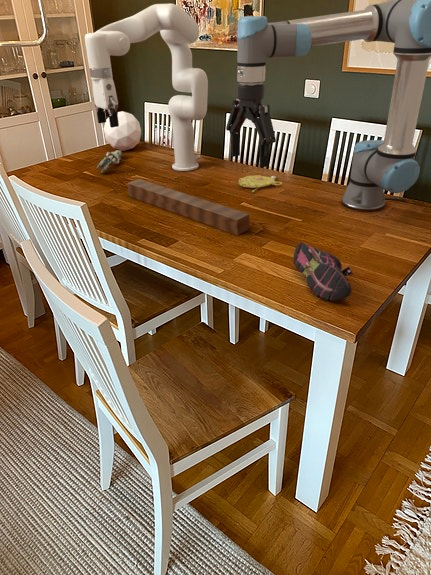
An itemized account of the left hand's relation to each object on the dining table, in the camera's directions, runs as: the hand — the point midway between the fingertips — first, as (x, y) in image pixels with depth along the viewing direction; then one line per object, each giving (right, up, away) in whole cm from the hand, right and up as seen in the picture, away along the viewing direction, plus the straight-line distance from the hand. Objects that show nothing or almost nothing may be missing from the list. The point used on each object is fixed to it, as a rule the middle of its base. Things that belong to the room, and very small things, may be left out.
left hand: (108, 124), depth 163 cm
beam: (+28, -32, +1) cm, 42 cm away
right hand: (+50, -23, -32) cm, 63 cm away
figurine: (-11, -1, +52) cm, 53 cm away
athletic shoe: (+69, -59, -44) cm, 101 cm away
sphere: (-9, +14, +75) cm, 77 cm away
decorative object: (+58, -17, +23) cm, 65 cm away
